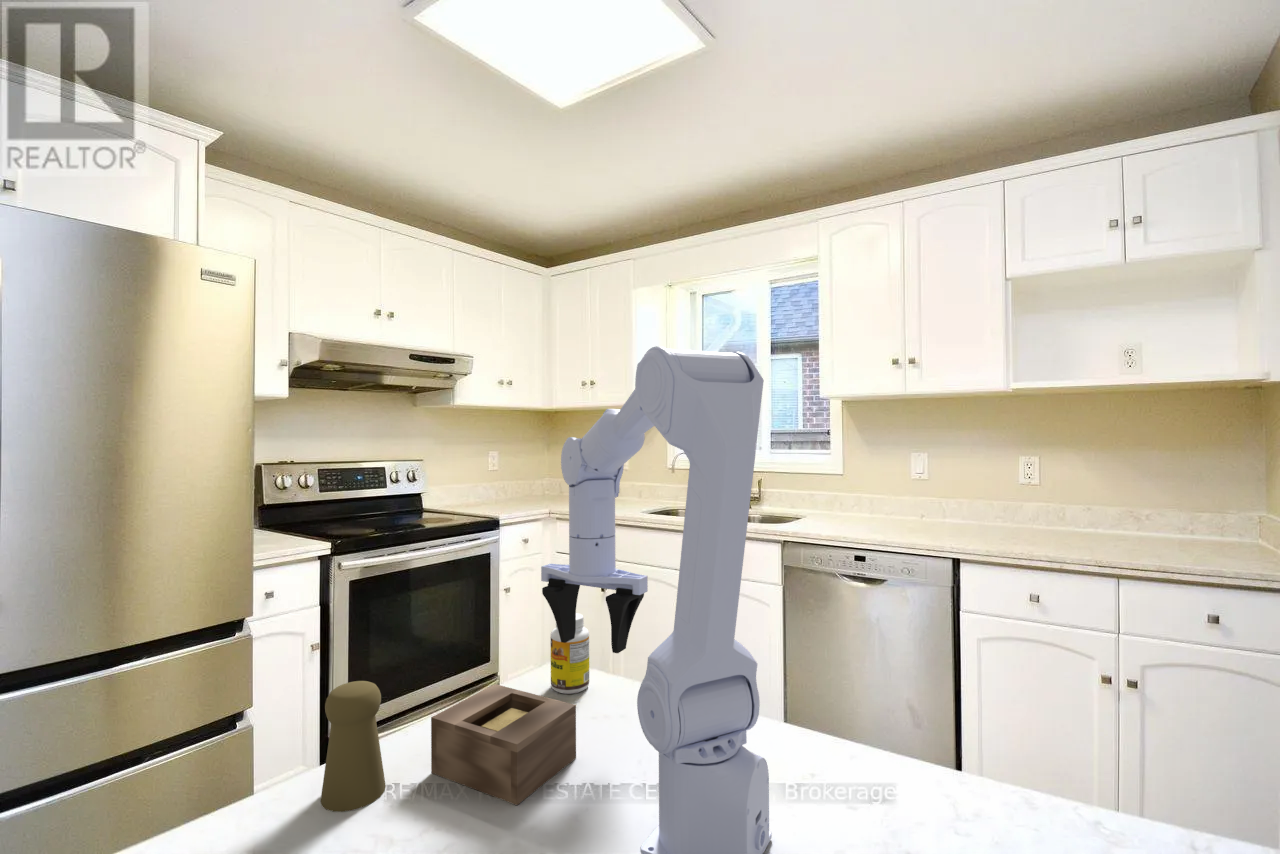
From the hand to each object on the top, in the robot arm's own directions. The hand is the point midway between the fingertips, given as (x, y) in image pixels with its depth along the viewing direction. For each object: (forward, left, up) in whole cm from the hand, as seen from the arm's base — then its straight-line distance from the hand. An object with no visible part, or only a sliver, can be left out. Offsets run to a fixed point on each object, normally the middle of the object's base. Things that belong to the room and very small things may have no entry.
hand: (592, 645), depth 76 cm
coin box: (+4, +12, -10) cm, 16 cm away
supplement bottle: (+10, -9, -11) cm, 17 cm away
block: (+4, +11, -10) cm, 16 cm away
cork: (+14, +23, -11) cm, 29 cm away
